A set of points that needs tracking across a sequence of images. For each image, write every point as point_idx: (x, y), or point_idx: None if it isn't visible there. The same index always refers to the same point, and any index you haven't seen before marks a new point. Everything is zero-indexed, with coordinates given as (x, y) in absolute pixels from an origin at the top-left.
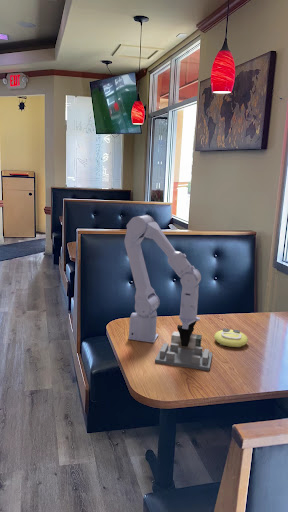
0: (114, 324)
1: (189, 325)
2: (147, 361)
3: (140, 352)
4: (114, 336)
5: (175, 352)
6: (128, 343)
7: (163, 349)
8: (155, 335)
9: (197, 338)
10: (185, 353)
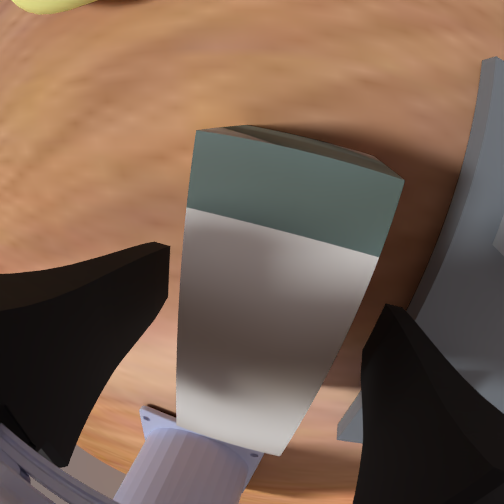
0: (118, 468)
1: (73, 356)
2: None
3: None
4: None
5: None
6: (282, 493)
7: None
8: (191, 442)
9: (373, 228)
10: (501, 325)
